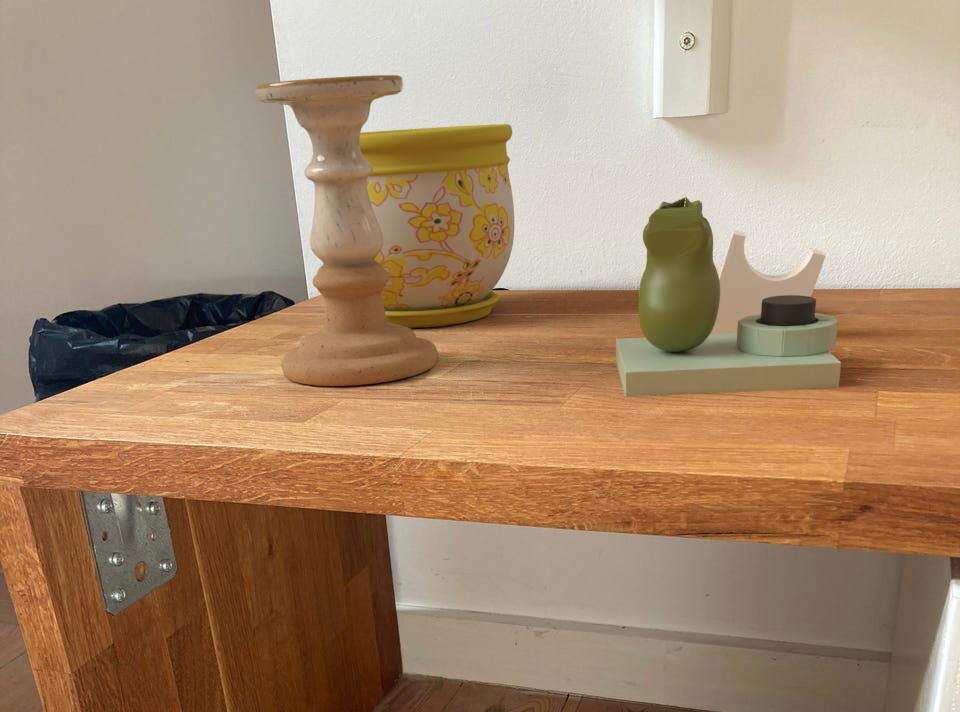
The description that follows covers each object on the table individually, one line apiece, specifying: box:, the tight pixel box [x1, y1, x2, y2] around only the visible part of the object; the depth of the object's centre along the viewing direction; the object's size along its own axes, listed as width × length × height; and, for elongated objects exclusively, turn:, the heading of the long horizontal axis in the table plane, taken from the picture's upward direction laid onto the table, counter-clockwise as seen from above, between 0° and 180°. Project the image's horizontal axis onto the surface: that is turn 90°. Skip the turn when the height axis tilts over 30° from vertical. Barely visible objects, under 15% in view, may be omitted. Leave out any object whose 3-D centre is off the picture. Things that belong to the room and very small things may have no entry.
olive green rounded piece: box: [637, 196, 720, 352], centre depth 70 cm, size 6×5×10 cm
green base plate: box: [615, 312, 842, 397], centre depth 72 cm, size 15×11×4 cm
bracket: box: [710, 229, 826, 334], centre depth 85 cm, size 13×7×8 cm, turn 169°
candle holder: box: [254, 74, 439, 387], centre depth 77 cm, size 12×12×20 cm
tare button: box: [760, 295, 817, 326], centre depth 71 cm, size 4×4×2 cm
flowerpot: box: [359, 123, 515, 329], centre depth 97 cm, size 18×18×16 cm
